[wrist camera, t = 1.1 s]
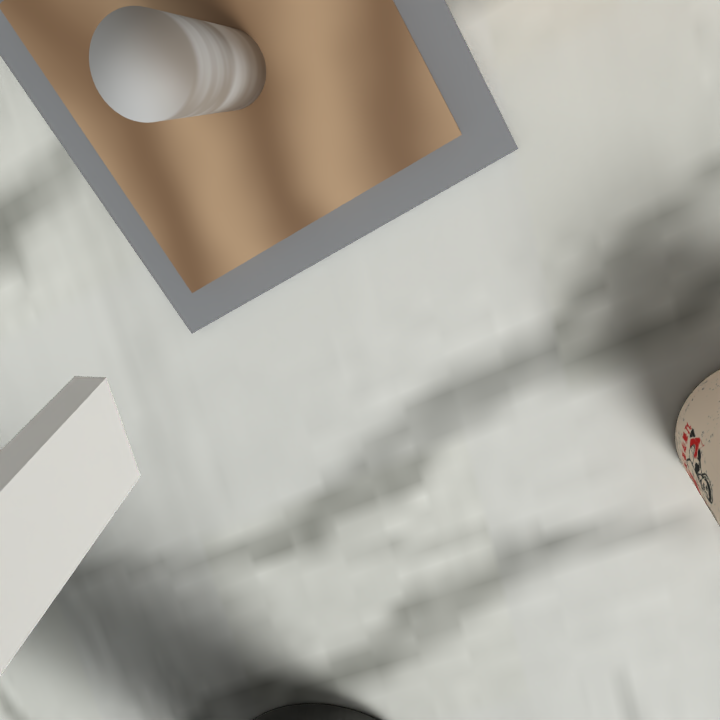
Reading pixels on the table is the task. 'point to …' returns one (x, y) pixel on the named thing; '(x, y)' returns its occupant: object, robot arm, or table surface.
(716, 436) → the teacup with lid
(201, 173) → the lid board
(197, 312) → the rubber mat
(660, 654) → the table surface
